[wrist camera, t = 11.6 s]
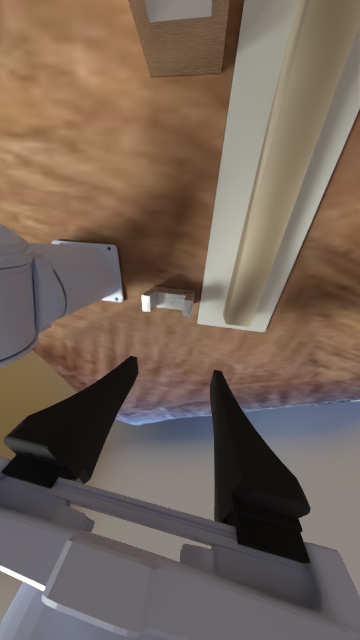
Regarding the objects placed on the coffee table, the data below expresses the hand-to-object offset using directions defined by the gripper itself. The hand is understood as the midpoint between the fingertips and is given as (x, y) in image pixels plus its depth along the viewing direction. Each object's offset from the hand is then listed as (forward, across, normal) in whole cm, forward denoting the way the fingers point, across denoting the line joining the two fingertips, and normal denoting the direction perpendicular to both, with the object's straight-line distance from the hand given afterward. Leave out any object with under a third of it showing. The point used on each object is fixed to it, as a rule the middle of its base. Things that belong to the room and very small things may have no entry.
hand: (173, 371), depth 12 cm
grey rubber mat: (+10, -7, -14) cm, 19 cm away
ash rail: (+10, -7, -14) cm, 18 cm away
